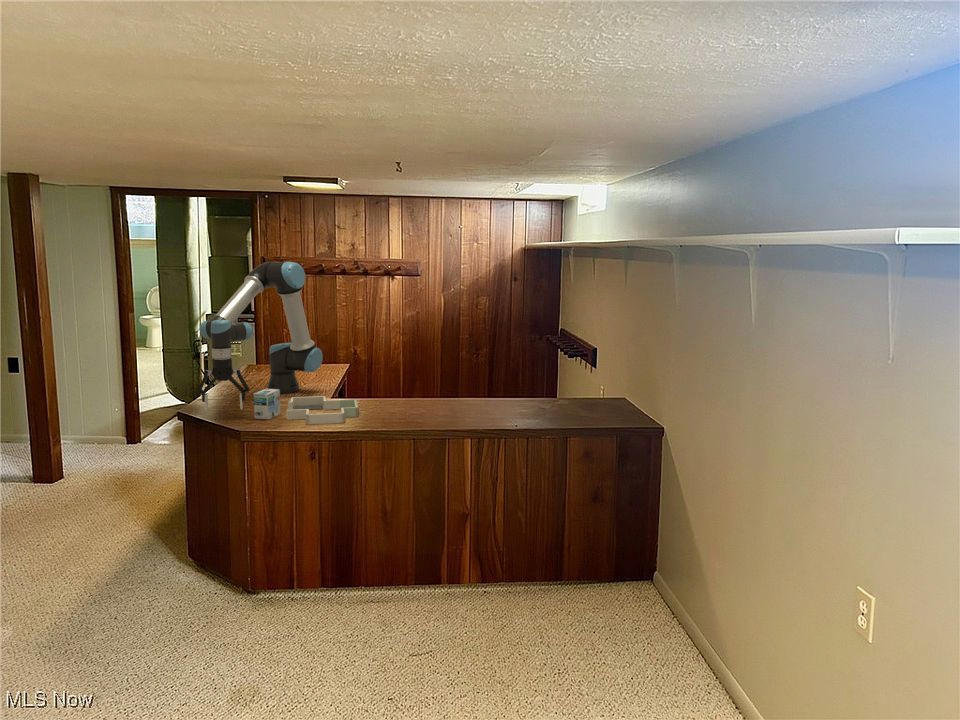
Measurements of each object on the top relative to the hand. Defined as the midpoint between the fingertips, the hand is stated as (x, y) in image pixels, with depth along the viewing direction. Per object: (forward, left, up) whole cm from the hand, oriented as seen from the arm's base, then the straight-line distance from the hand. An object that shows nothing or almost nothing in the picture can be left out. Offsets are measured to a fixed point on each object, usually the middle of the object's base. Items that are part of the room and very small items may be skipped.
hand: (224, 409), depth 298 cm
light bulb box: (0, +17, -4) cm, 18 cm away
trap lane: (0, +39, -4) cm, 39 cm away
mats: (0, +37, -4) cm, 37 cm away
